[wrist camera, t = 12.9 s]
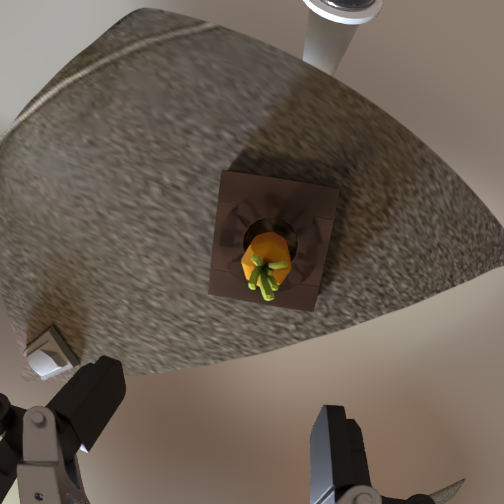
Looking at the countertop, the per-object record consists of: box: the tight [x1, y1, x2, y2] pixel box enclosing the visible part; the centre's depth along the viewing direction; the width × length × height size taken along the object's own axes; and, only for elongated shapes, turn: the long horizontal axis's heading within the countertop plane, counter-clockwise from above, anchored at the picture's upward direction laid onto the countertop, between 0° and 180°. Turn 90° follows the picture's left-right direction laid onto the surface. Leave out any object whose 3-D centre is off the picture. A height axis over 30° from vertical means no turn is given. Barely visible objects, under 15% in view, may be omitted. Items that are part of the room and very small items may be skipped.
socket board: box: [208, 170, 340, 312], centre depth 35 cm, size 16×14×3 cm
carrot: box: [241, 231, 292, 301], centre depth 30 cm, size 5×5×15 cm
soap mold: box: [23, 326, 80, 380], centre depth 49 cm, size 10×20×4 cm, turn 121°
